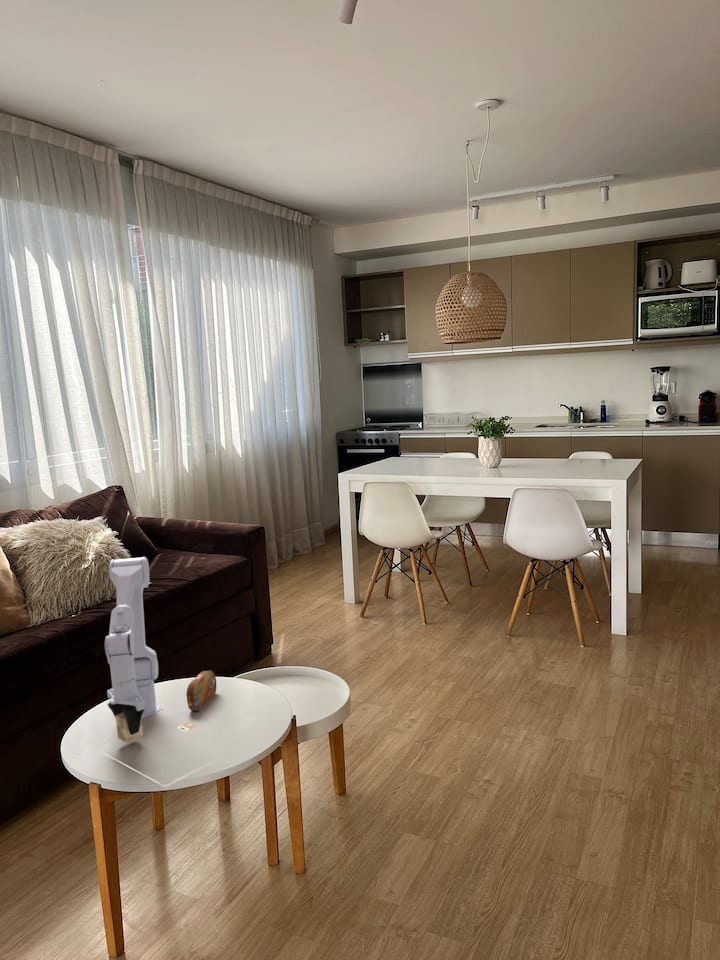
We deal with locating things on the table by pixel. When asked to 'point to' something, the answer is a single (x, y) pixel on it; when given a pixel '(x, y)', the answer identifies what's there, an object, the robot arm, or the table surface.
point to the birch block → (126, 729)
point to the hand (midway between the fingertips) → (129, 730)
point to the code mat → (185, 728)
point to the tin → (201, 690)
